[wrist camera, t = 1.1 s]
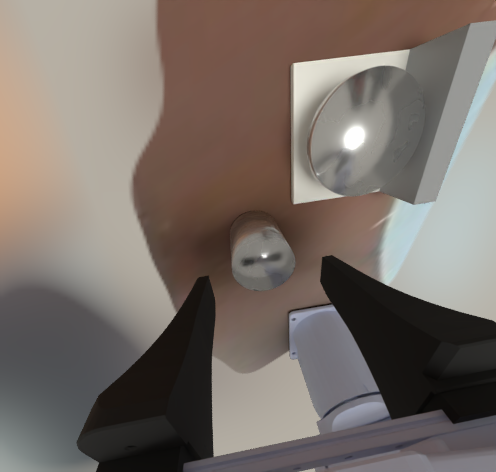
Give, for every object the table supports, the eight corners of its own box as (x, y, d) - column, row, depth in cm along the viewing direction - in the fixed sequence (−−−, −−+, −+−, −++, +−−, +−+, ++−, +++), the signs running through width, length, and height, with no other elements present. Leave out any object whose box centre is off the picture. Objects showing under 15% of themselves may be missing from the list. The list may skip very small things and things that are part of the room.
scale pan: (397, 185, 14) (406, 188, 13) (304, 199, 14) (309, 203, 13) (429, 62, 11) (443, 57, 10) (308, 77, 10) (314, 73, 10)
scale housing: (395, 186, 17) (439, 200, 14) (291, 201, 17) (309, 220, 13) (430, 49, 13) (508, 19, 9) (290, 66, 12) (317, 41, 9)
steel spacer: (278, 249, 19) (295, 285, 15) (233, 256, 19) (237, 295, 14) (276, 207, 17) (295, 234, 12) (225, 214, 17) (226, 245, 12)
